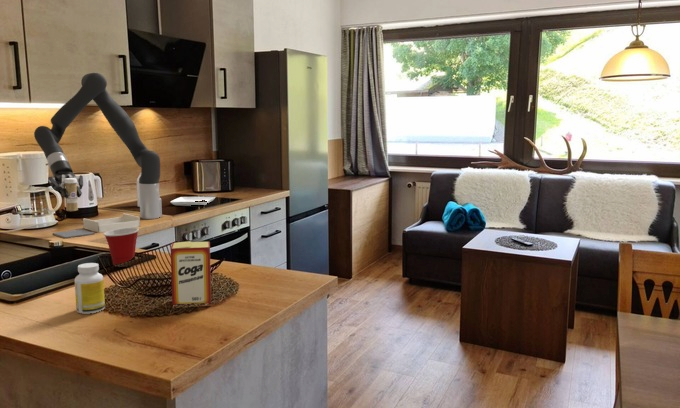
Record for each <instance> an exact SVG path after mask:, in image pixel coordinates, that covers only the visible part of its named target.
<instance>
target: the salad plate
mask: <svg viewBox="0 0 680 408" xmlns="http://www.w3.org/2000/svg"><path fill="white" fill-rule="evenodd" d="M215 199H216V196H180V197H177V198H175V199H173V200H171V201H169V202H170V203H171V204H172V205H174V206H180V207H192V206H191V205H204V206H206V205H208V204H209V203H210V202H213V201H214V200H215ZM202 200H205V201H207V202H195V201H202ZM207 203H208V204H207Z"/></svg>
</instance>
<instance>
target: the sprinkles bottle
mask: <svg viewBox="0 0 680 408" xmlns="http://www.w3.org/2000/svg"><path fill="white" fill-rule="evenodd" d="M64 183H65V189H66V190H67V192H68V195H69V196H68V198H65V212H66V211H67V212H76V211H79V208H78V202H79V201H78V197H77V185H76V184H78V182H77V179H76V178H65V179H64Z"/></svg>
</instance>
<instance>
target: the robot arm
mask: <svg viewBox="0 0 680 408" xmlns="http://www.w3.org/2000/svg"><path fill="white" fill-rule="evenodd" d="M80 83H81V87H80V89H79V90H78V91H77V92H76V94H75V95H74V96H72V97H71V98H70V99H69V100H68V101H67V102H66V103H64V104H63V105H62V106H60V108H59V109H58V110H57V111H56V112H55V113H54V115H52V117H51V119H50V123H51V125H52V127H51V128H49V127H48V126H46V125H41V126H38V127H37V128H35V130H34V134H33V137H34V139H35V141H36V142H37V144H38V146H39V147H40V148H41V150H42V152H43V154H44V157H45V158H46V161H47V165H48V167H49V169H50V171H51V174H52V176H50V177H48V179H47V183H48V184H49V185H50V186H51V187H52V188H53V190H54V191H55V192H60V193H61V195H62V197H63V198H65V199H66V198H68V196H69V195H68V192H67V190H66V189H65V183H64V179H65V178H76V179H77V184H76V185H77V198H81V196H82V189H83V187H84V177H83V175H82V174H81V175H76V174H74V172H73V169H72V166H71V165H70V162H69V160H68V158H67V156H66V155H65V153H64V151H63V148H62V147H61V146H60V145H59V143H60V142H61V140H62V138H63V136H64V134H65V131H66V129H67V128H68V127H69V126H70V125H71V124H72V122H73V121H74V120H75V119H76V118H77V116H79V115H80V114H81V112H82V111H83V110H84V108H86V106H87V105H88V104H89V103H91V102H92V101H93V102H94V104H96V105H97V107H98V109H99V110H100V112H101V114H103V116H104V118H105V119H106V120H107V122H108V123H109V125H110V126H111V128H112V129H113V130H114V132H115V133H116V135H117V136H118V138H119V139H120V140H121V141H122V142H123V144H124V145H125V146H126V147H127V149H128V151H129V152H130V154H131V155H132V158H133V159H134V161H135V163H136V165H138V166H139V167H140V169H141V172H140V173H141V177H140V178H139V191H140V207H139V211H140V213H139V214H140V219H142V220H154V219H155V220H156V219H159V217H160V218H162V217H163V212H162V211H163V210H162V209H163V208H162V207H163V206H162V198H161V197H160V178H161V158H160V155H159V154H158V153H157V152H156V151H154V150H149V149H148V148H147V146H146V145H145V144H144V143H143V141H142V140H141V138H140V136H139V133H138V130H137V127H136V125H135V123H134V122H133V120H132V119H131V117H130V116H129V114H128V113H127V112H126V111H125V110H124V108H123V107H122V106H120V105H119V104H118V103H117V102H116V101H115V100H114V98H113V97H112V96H111V95H110V93H109V92H108V90H107V89H106V88H107V85H108V83H107V79H106V77H105V76H104V75H103V74H101V73H98V72H91V73H86V74H84V75H83V76H82V78H81V82H80ZM161 216H162V217H161Z"/></svg>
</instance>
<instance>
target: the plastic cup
mask: <svg viewBox="0 0 680 408" xmlns="http://www.w3.org/2000/svg"><path fill="white" fill-rule="evenodd" d="M139 230H140V229H139V227H135V228H124V229H116V230H111V231H107V232H103V233H102V234H103V235H102V236H104V237H105V239H106V242H107V245H108V249H109V252H110V256H111V259H112V264H113V266H114V265H116V264H120V263H124V262H127V261H129V260H131V259H132V258H133V257H134V258H135V256H136V249H137V248H136V246H137V239H138V233H139Z"/></svg>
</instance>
